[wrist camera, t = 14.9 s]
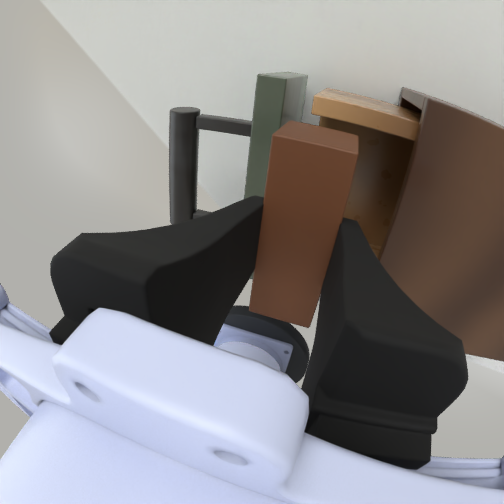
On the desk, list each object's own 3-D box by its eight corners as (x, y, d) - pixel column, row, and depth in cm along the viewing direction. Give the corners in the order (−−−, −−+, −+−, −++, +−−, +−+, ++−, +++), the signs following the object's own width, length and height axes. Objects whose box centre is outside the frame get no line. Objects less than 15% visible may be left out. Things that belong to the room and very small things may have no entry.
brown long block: (318, 289, 14) (309, 329, 12) (265, 274, 15) (248, 311, 13) (359, 135, 10) (359, 153, 8) (289, 119, 11) (271, 133, 9)
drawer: (208, 211, 22) (167, 255, 18) (217, 64, 16) (165, 68, 12) (413, 265, 19) (422, 326, 15) (465, 120, 14) (504, 144, 9)
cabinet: (357, 251, 21) (350, 327, 15) (402, 86, 15) (428, 97, 9) (490, 290, 19) (514, 364, 13) (551, 152, 12) (613, 198, 7)
